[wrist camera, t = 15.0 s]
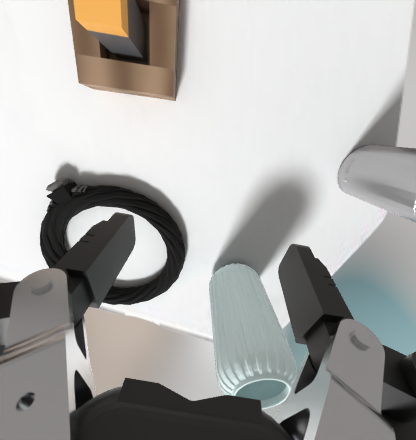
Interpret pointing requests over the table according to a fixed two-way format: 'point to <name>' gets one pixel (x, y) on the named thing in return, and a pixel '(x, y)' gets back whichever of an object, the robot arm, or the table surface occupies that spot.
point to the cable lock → (111, 197)
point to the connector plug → (115, 26)
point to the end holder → (129, 69)
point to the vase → (248, 338)
